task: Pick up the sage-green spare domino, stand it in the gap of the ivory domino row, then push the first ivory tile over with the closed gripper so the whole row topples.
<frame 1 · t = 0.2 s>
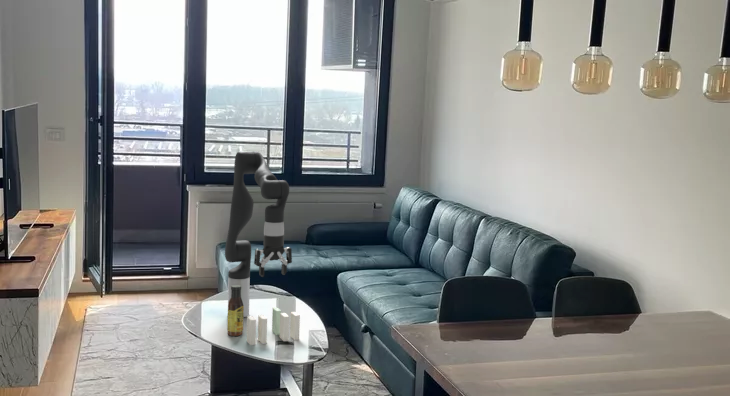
hand: (272, 275, 261), 28 cm above the table, fingers open, 8 cm apart
domino 2: (262, 341, 271), on the table
domino 1: (251, 342, 269), on the table
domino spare: (276, 333, 282), on the table
domino 5: (294, 337, 277), on the table
sauce bottle: (235, 334, 279), on the table
domino 4: (283, 339, 275), on the table
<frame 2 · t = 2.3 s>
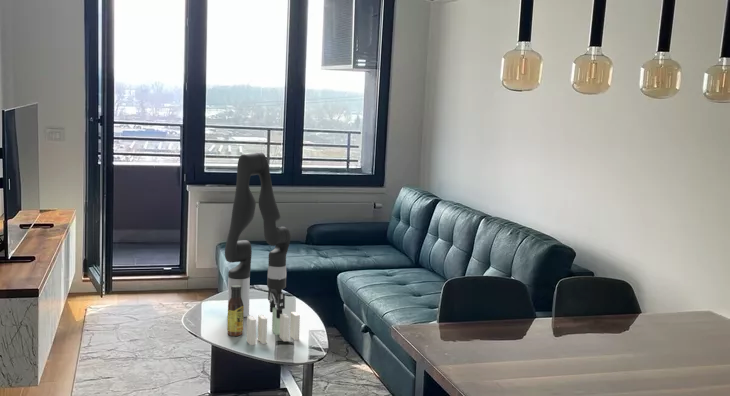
hand: (275, 315, 281), 7 cm above the table, fingers open, 8 cm apart
domino 4: (283, 339, 275), on the table, touching gripper
everything else where it was.
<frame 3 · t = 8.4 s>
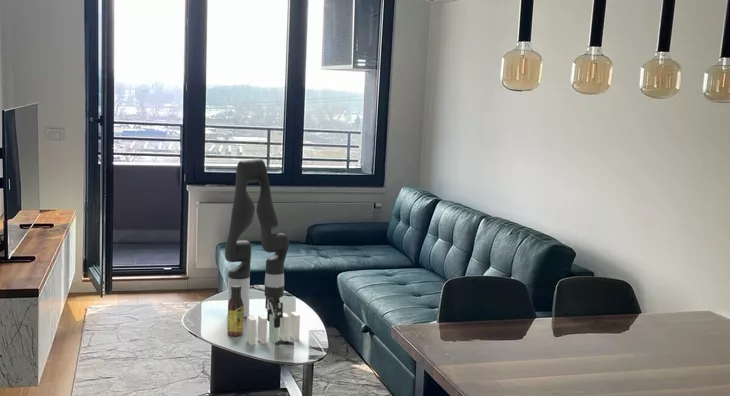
hand: (273, 324, 272), 7 cm above the table, fingers open, 8 cm apart
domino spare: (273, 340, 273), on the table
domino 4: (284, 339, 275), on the table
everything else where it was.
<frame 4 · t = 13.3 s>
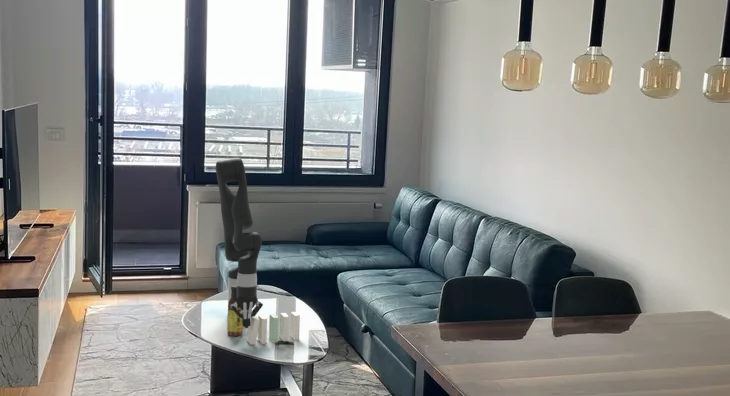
hand: (246, 327, 268), 6 cm above the table, fingers closed
domino 1: (251, 342, 269), on the table, tilted 9°, touching gripper
everything else where it was.
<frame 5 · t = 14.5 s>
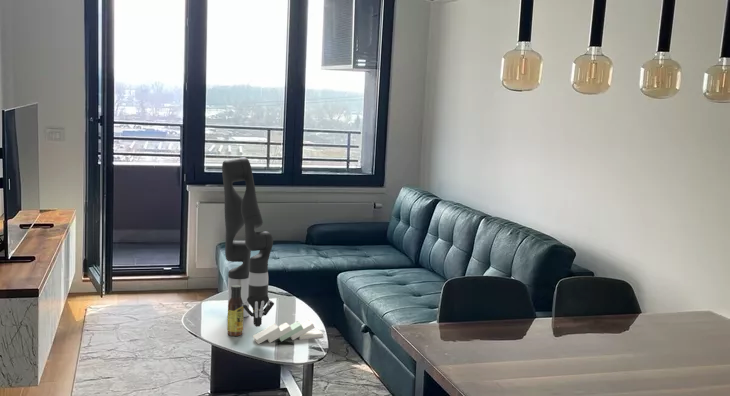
hand: (257, 326, 270), 6 cm above the table, fingers closed
domino 2: (266, 338, 272), point 1 cm above the table, tilted 65°, touching domino 1, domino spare
domino 1: (255, 340, 270), point 1 cm above the table, tilted 65°, touching domino 2
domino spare: (278, 337, 274), point 1 cm above the table, tilted 65°, touching domino 2, domino 4
domino 5: (297, 336, 278), on the table, tilted 90°, touching domino 4
domino 4: (289, 336, 276), point 1 cm above the table, tilted 65°, touching domino 5, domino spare
everything else where it was.
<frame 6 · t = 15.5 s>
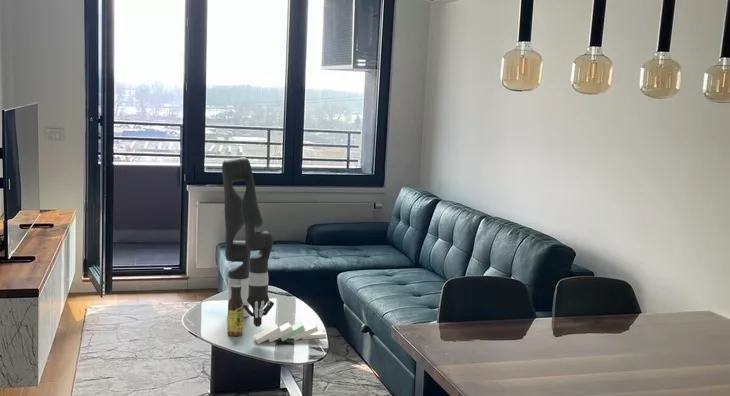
hand: (257, 326, 270), 6 cm above the table, fingers closed
domino 2: (268, 338, 273), point 1 cm above the table, tilted 65°, touching domino 1, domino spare
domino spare: (280, 337, 275), point 1 cm above the table, tilted 66°, touching domino 2
domino 5: (300, 336, 278), on the table, tilted 90°
domino 4: (293, 335, 276), point 1 cm above the table, tilted 67°
everything else where it was.
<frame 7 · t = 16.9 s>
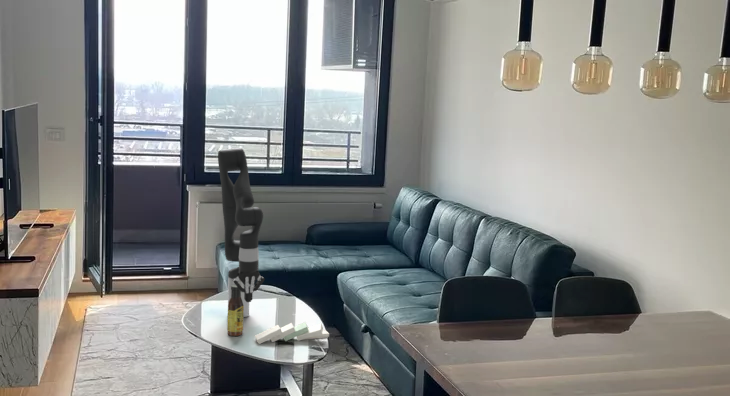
hand: (248, 301, 270), 16 cm above the table, fingers closed
domino 2: (270, 337, 273), point 1 cm above the table, tilted 66°, touching domino 1
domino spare: (283, 336, 275), point 1 cm above the table, tilted 66°, touching domino 4
domino 5: (303, 336, 278), point 1 cm above the table, tilted 90°
domino 4: (298, 335, 276), point 1 cm above the table, tilted 70°, touching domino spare
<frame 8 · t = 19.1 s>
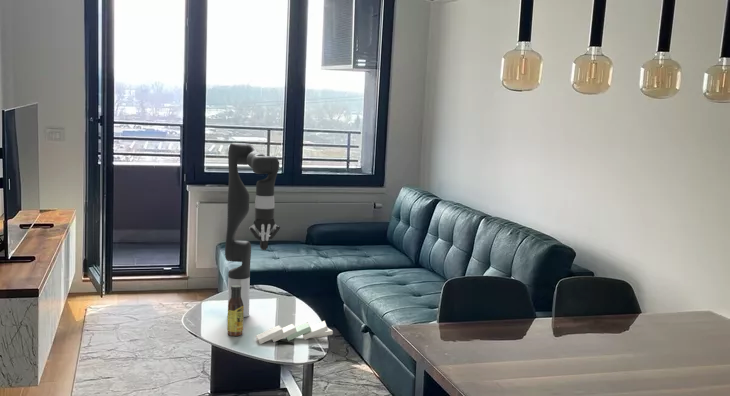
hand: (263, 249, 275), 35 cm above the table, fingers closed
domino 2: (271, 337, 273), point 1 cm above the table, tilted 69°, touching domino 1, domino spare
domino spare: (286, 336, 275), point 1 cm above the table, tilted 67°, touching domino 2, domino 4
domino 5: (308, 334, 280), point 1 cm above the table, tilted 90°, touching domino 4
domino 4: (303, 334, 277), point 1 cm above the table, tilted 68°, touching domino 5, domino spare
at the end: domino 5 tilted 90°; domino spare tilted 68°; domino 5 inside the target area (1.4 cm from its centre), point 0.6 cm above the table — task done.
